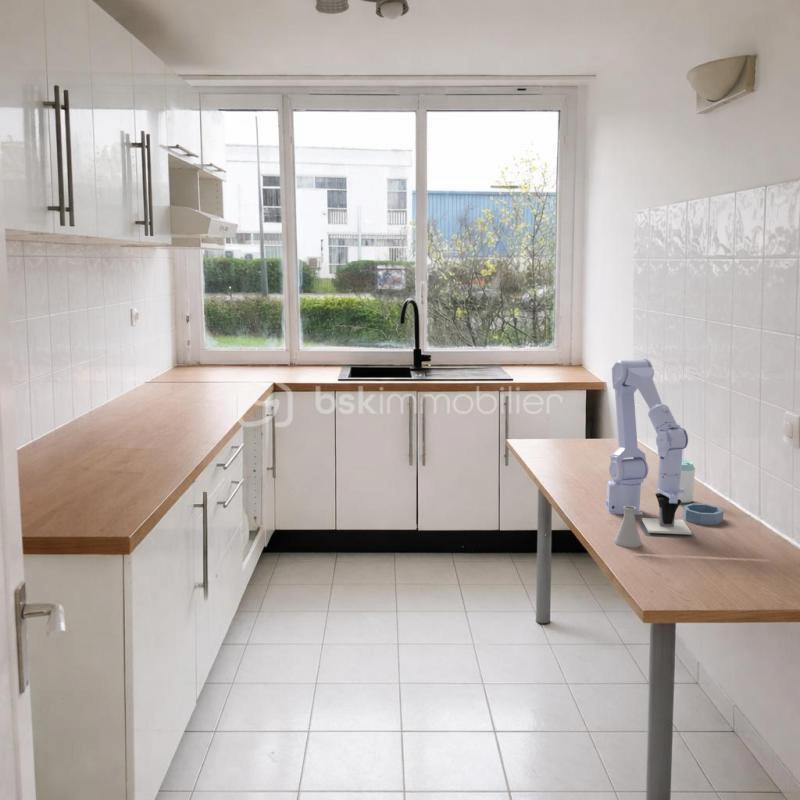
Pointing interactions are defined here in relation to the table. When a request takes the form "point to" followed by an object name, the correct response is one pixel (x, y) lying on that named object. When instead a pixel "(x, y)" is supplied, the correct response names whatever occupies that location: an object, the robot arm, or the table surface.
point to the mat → (664, 533)
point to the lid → (665, 525)
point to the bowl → (703, 514)
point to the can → (687, 482)
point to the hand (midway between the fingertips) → (666, 521)
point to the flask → (628, 530)
